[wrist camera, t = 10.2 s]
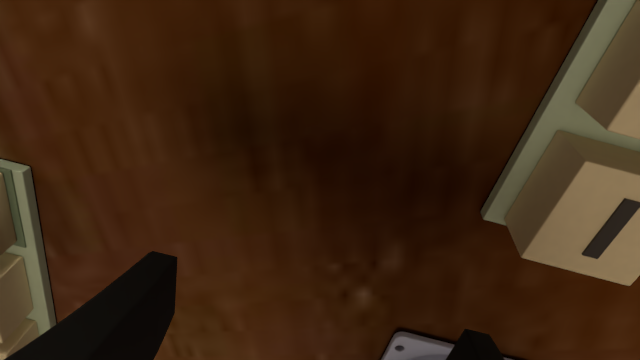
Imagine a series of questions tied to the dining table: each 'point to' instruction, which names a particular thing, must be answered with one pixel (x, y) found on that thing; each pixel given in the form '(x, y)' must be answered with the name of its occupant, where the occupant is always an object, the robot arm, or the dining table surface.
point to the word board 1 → (23, 268)
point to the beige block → (5, 220)
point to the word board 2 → (582, 157)
